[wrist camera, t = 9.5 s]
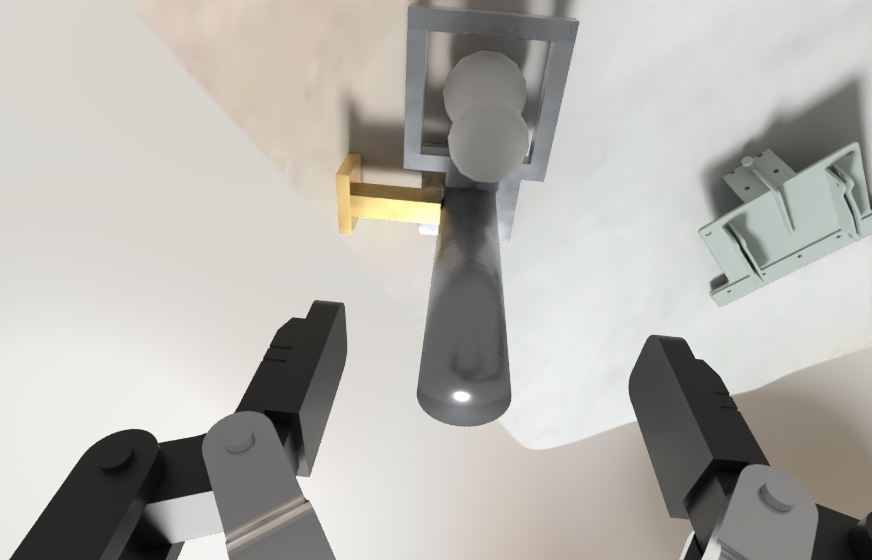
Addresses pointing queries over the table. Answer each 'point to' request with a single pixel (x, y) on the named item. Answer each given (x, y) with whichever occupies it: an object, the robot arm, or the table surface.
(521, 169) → the square post stand
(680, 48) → the table surface
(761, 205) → the metal bracket
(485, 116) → the salt shaker
